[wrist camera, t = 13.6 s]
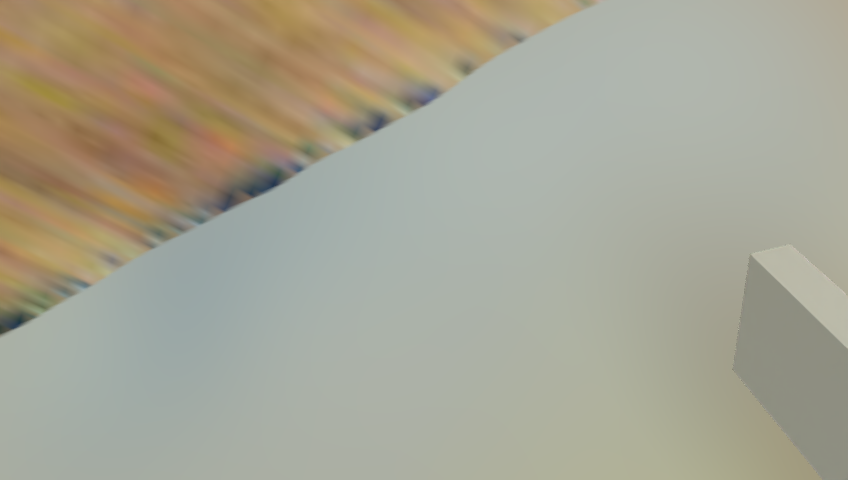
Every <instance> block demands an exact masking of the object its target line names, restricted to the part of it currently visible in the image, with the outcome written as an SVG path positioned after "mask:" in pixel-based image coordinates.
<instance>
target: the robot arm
mask: <svg viewBox="0 0 848 480" xmlns="http://www.w3.org/2000/svg"><path fill="white" fill-rule="evenodd" d="M733 371H734V372H735V373H736V374H737V376H738V377H739V378H740V379H741V381H742V382H743V383H744V384H745V385H746V387H747V388H748V389H749V390H750V392H751V393H752V394H753V395H754V396H755V398H756V399H757V400H758V401H759V403H760V404H761V405H762V406H763V407H764V409H765V410H766V411H767V412H768V413H769V415H770V416H771V417H772V418H773V420H774V421H775V422H776V423H777V425H778V426H779V427H780V428H781V429H782V431H783V432H784V433H785V434H786V436H787V437H788V438H789V439H790V440H791V442H792V443H793V444H794V445H795V446H796V447H797V449H798V450H799V451H800V453H801V454H802V455H803V456H804V457H805V459H806V460H807V461H808V462H809V464H810V465H811V466H812V467H813V469H814V470H815V471H816V472H817V473H818V475H819V476H820V477H821V478H822V479H823V480H848V295H847V294H845V292H843V291H842V290H841V289H840V288H839V287H838V286H837V285H836V284H834V283H833V282H832V281H831V280H830V279H829V278H828V277H827V276H825V275H824V274H823V273H822V272H821V271H820V270H819V269H817V268H816V267H815V266H814V265H813V264H812V263H811V262H810V261H809V260H807V259H806V258H805V257H804V256H803V255H802V254H801V253H800V252H798V251H797V250H796V249H795V248H794V247H793V246H792V245H790V244H789V245H785V246H781V247H777V248H773V249H768V250H764V251H760V252H756V253H752V254H750V257H749V263H748V270H747V277H746V283H745V291H744V297H743V303H742V311H741V317H740V323H739V330H738V337H737V343H736V350H735V357H734V364H733Z"/></svg>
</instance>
